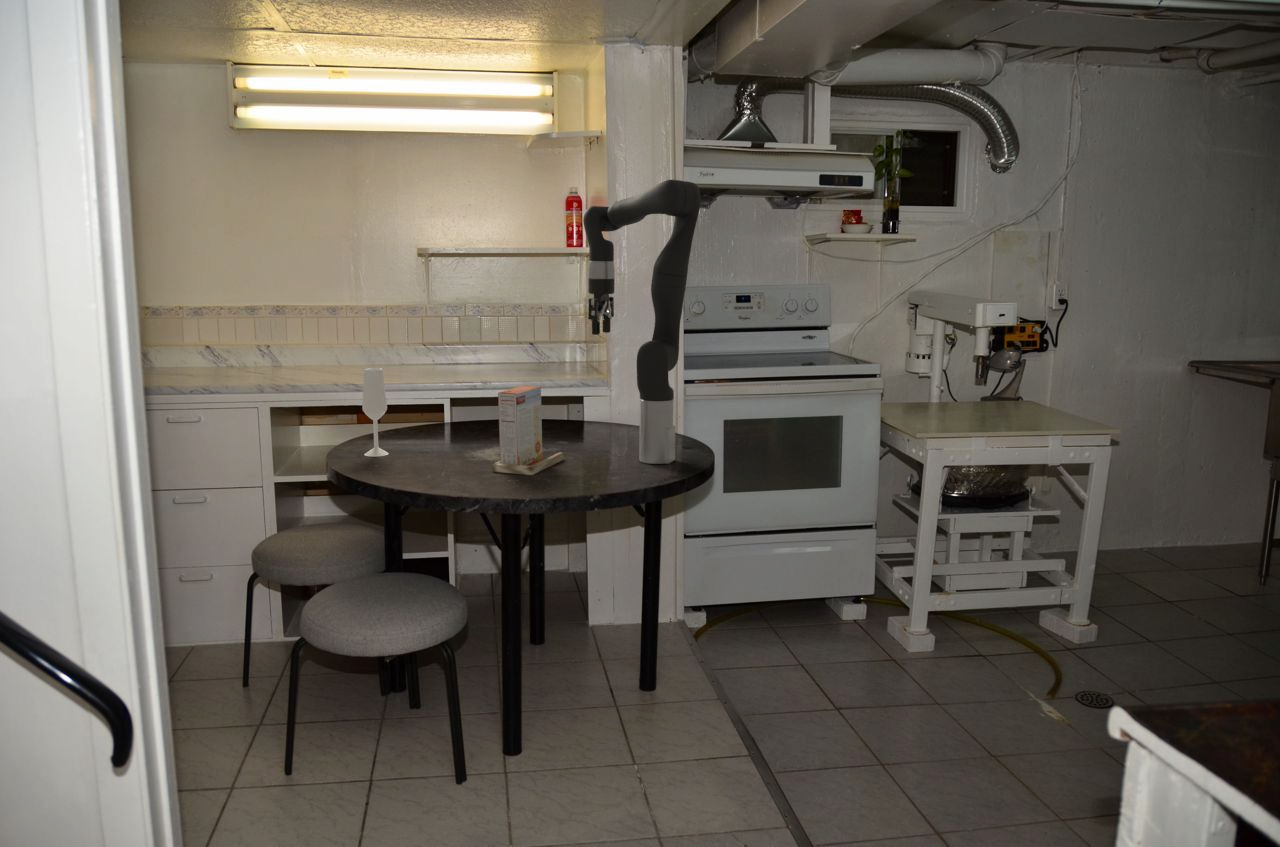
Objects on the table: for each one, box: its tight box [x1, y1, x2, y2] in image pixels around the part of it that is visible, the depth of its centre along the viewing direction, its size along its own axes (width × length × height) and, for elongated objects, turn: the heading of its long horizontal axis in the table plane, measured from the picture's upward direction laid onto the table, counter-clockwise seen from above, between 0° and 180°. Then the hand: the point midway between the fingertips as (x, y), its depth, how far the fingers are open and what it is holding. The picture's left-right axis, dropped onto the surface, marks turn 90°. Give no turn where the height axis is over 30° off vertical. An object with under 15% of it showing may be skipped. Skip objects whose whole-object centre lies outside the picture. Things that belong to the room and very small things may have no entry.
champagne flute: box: [361, 367, 389, 457], centre depth 274 cm, size 7×7×24 cm
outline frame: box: [491, 452, 564, 476], centre depth 263 cm, size 11×20×2 cm, turn 161°
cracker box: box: [497, 385, 543, 466], centre depth 261 cm, size 14×6×21 cm, turn 159°
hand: (601, 333), depth 286 cm, fingers open, 8 cm apart
